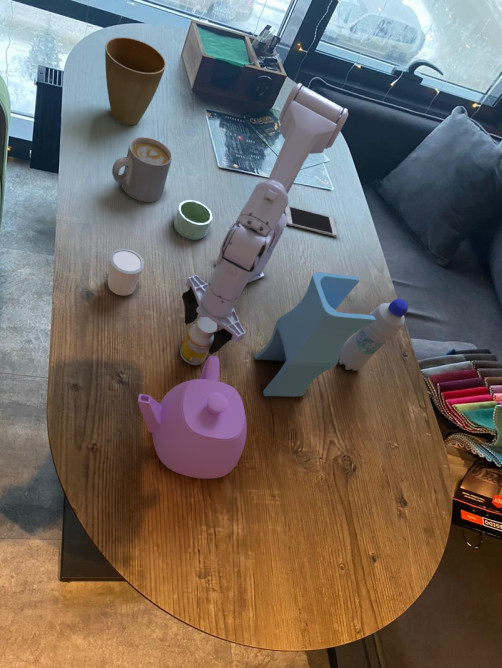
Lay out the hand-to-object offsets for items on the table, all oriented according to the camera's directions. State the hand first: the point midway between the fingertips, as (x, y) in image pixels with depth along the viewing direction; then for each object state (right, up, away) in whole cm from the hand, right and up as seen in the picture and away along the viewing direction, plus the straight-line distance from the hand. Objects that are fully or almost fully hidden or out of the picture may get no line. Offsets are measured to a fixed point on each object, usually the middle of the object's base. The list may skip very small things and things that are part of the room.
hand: (201, 336), depth 96 cm
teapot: (-4, -18, -5) cm, 19 cm away
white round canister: (-17, +12, +9) cm, 22 cm away
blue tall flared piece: (+16, -7, +9) cm, 20 cm away
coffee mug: (-16, +39, +26) cm, 50 cm away
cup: (-3, +29, +25) cm, 38 cm away
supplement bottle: (-2, -3, +5) cm, 6 cm away
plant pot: (-21, +64, +40) cm, 78 cm away
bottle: (+33, -4, +18) cm, 37 cm away
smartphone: (+29, +36, +41) cm, 62 cm away
